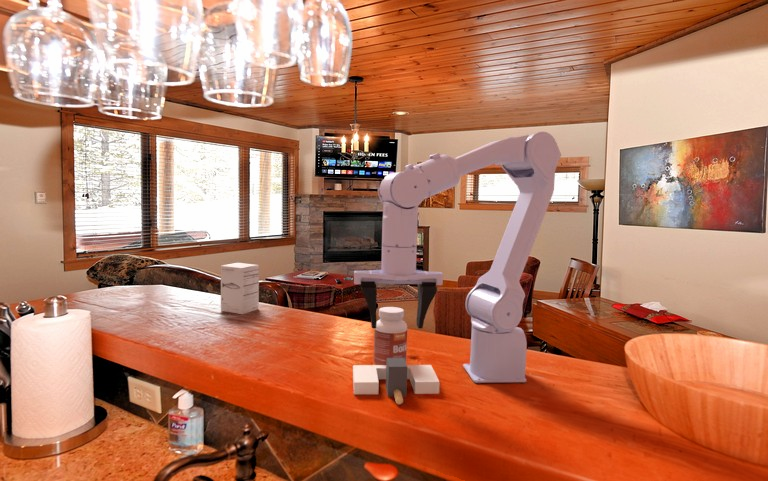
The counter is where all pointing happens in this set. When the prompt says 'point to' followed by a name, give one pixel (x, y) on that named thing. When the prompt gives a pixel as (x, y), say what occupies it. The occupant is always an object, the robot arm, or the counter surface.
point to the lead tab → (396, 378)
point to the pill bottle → (390, 335)
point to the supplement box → (239, 288)
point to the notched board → (369, 375)
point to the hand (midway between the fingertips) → (396, 326)
